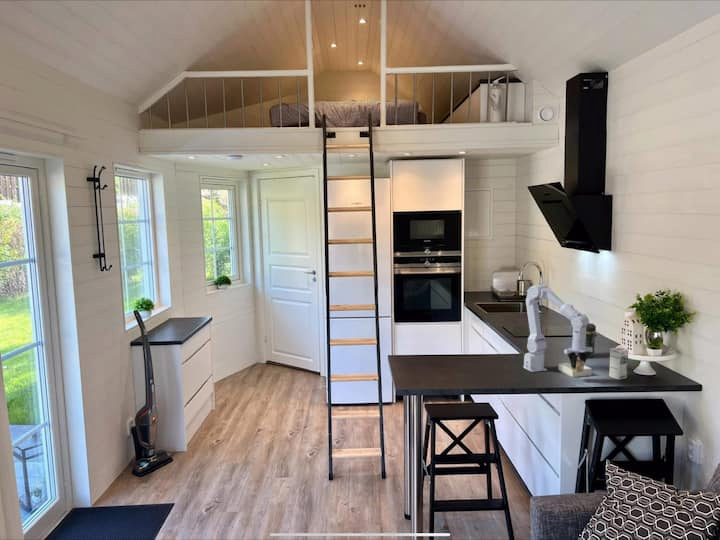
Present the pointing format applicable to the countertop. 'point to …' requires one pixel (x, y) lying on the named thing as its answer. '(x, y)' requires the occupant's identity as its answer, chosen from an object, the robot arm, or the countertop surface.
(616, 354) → the syrup box
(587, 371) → the white tub
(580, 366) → the beech block
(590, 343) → the coffee jar
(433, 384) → the countertop surface
